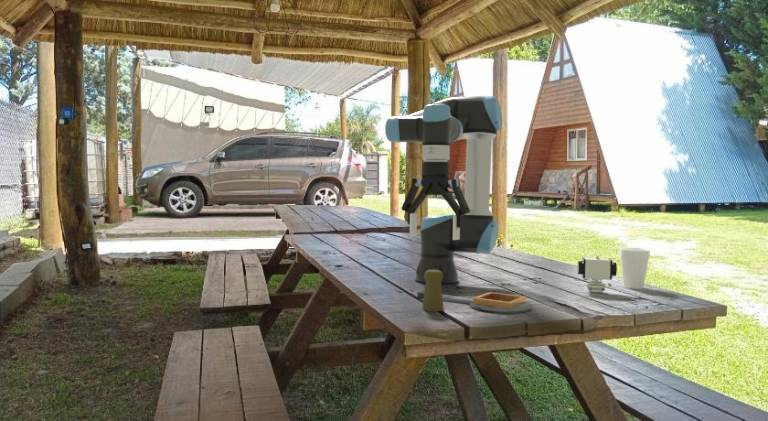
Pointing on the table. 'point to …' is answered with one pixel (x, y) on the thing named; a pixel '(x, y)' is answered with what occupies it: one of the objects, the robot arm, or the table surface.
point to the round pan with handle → (491, 302)
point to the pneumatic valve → (596, 272)
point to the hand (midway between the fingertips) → (434, 238)
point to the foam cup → (634, 266)
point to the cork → (433, 291)
